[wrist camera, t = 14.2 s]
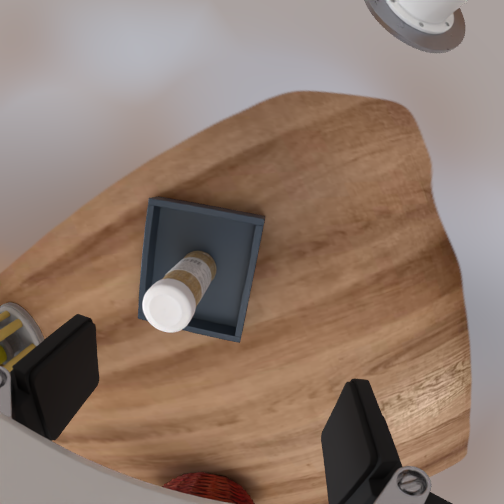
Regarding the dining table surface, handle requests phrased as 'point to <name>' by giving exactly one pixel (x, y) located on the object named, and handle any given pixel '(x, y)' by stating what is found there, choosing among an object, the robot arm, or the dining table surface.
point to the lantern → (16, 334)
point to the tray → (209, 241)
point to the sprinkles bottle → (179, 292)
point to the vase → (210, 487)
